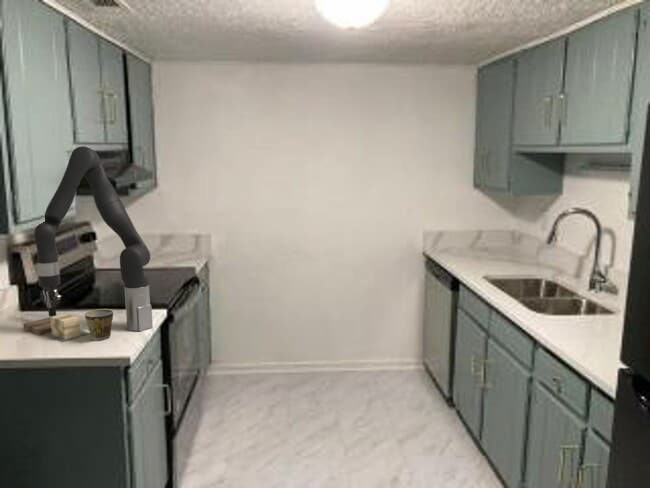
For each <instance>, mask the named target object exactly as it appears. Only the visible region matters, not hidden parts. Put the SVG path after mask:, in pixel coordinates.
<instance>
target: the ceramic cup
mask: <svg viewBox="0 0 650 488" xmlns="http://www.w3.org/2000/svg"><path fill="white" fill-rule="evenodd" d="M84 316H85V317H84V318H85V322H86V324H87V327H88V331H89V332H88V333H90V334H89V335H90V339H91V340H92V341H95V342H101V341H105V340H108V339H110V337H111V335H112V334H111V333H112V323H113V319H114V310H113V309H111V308H110V309H109V308H99V309H92V310H88V311H86V312H85V313H84Z"/></svg>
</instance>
